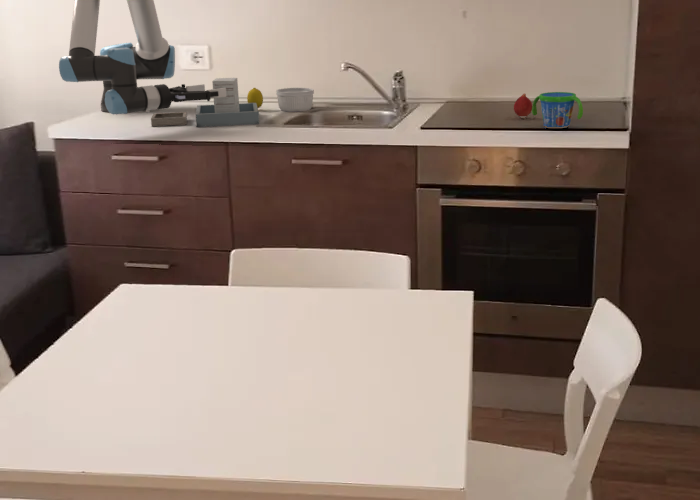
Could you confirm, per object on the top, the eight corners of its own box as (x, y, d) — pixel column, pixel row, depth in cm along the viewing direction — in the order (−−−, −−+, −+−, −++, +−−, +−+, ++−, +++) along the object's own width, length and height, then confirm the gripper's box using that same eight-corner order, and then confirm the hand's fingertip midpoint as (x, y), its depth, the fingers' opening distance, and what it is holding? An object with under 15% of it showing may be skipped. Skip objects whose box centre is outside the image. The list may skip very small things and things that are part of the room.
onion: (512, 120, 278) (513, 94, 276) (514, 117, 284) (514, 92, 281) (531, 120, 277) (532, 94, 275) (532, 117, 282) (533, 92, 280)
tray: (198, 117, 301) (197, 105, 299) (256, 114, 303) (256, 102, 302) (196, 127, 282) (195, 114, 281) (259, 123, 284) (258, 111, 283)
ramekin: (320, 107, 314) (320, 88, 312) (303, 113, 303) (302, 93, 301) (288, 106, 320) (287, 86, 318) (270, 111, 309) (269, 91, 306)
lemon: (256, 112, 308) (254, 89, 305) (244, 110, 311) (243, 88, 309) (266, 109, 312) (265, 87, 310) (255, 108, 315) (254, 86, 313)
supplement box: (218, 115, 296) (215, 77, 292) (240, 115, 295) (238, 77, 291) (214, 119, 289) (211, 80, 285) (237, 119, 288) (234, 80, 284)
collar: (154, 120, 296) (153, 113, 295) (187, 119, 297) (186, 111, 296) (151, 126, 285) (150, 118, 284) (186, 124, 287) (185, 117, 286)
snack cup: (524, 128, 265) (525, 94, 262) (544, 123, 272) (545, 90, 269) (568, 133, 254) (570, 98, 251) (588, 128, 261) (590, 94, 258)
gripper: (138, 105, 285) (196, 98, 297) (175, 113, 266) (235, 105, 278) (136, 82, 282) (194, 75, 295) (173, 88, 264) (234, 81, 276)
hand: (214, 90), depth 287 cm, fingers open, 13 cm apart
